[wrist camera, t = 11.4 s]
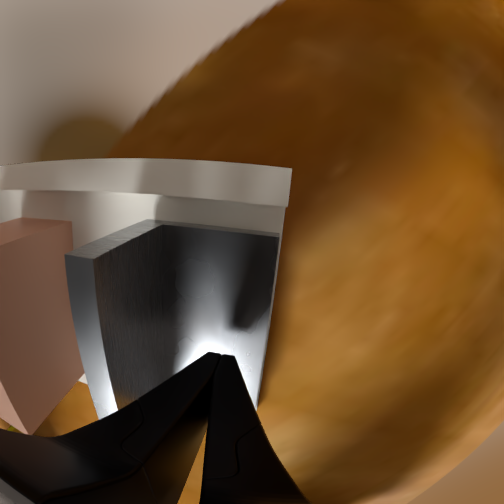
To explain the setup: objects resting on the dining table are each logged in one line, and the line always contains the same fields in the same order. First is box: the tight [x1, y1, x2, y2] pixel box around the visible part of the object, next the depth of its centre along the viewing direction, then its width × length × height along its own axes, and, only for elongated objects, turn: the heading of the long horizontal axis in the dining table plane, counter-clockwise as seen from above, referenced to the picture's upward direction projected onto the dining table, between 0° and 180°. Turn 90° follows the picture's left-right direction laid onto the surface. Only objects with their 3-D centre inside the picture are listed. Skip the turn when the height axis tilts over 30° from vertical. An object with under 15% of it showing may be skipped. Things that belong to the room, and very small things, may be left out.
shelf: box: [0, 158, 292, 411], centre depth 9 cm, size 11×19×6 cm, turn 84°
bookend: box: [64, 219, 280, 420], centre depth 8 cm, size 8×4×4 cm, turn 174°
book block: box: [0, 217, 85, 435], centre depth 9 cm, size 7×4×6 cm, turn 175°
